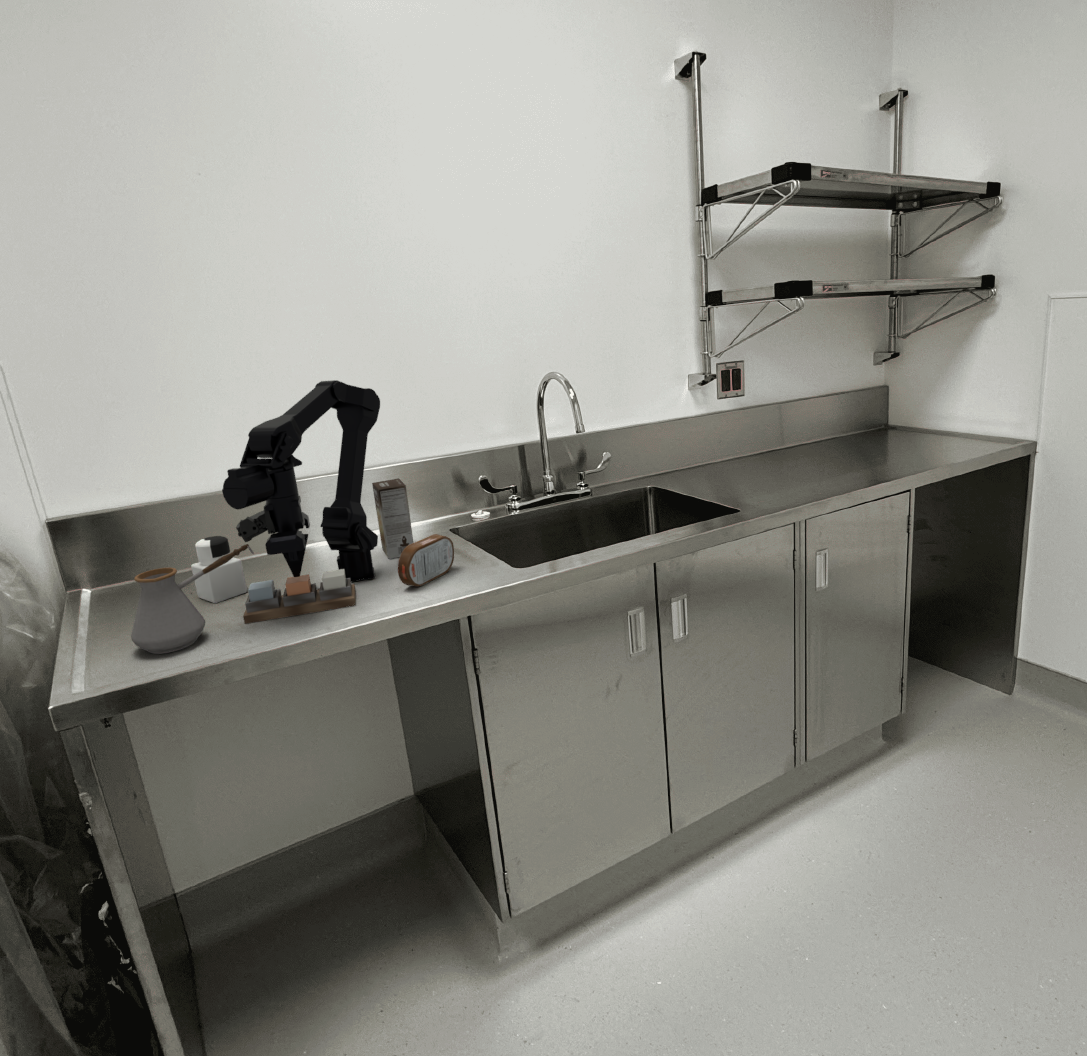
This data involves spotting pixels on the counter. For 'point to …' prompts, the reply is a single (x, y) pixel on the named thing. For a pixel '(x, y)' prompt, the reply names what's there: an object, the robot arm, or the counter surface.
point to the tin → (426, 560)
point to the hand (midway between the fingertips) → (297, 576)
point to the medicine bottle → (218, 571)
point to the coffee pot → (169, 609)
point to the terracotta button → (298, 585)
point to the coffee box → (393, 516)
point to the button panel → (300, 603)
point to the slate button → (262, 590)
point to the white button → (334, 579)
